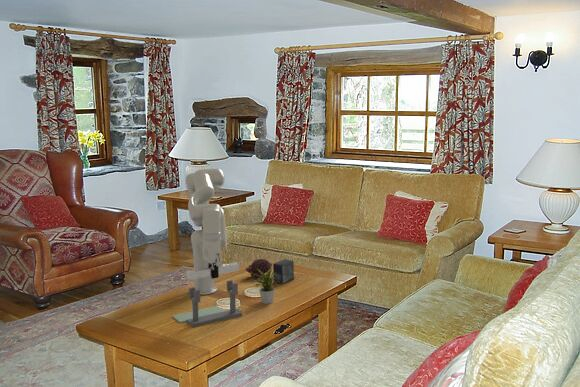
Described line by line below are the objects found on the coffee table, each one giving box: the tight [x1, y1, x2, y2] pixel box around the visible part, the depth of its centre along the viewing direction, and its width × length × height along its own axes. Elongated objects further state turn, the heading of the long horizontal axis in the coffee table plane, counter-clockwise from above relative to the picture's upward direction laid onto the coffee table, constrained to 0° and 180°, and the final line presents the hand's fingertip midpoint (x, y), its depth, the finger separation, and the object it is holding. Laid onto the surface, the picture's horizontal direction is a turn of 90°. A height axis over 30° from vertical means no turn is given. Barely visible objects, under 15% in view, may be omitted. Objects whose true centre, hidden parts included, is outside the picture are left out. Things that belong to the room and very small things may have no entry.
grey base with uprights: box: [186, 279, 243, 328], centre depth 266 cm, size 6×24×16 cm, turn 122°
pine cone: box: [245, 258, 273, 279], centre depth 327 cm, size 18×10×10 cm, turn 133°
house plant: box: [251, 267, 279, 305], centre depth 288 cm, size 14×14×16 cm
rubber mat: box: [171, 305, 240, 324], centre depth 275 cm, size 9×29×1 cm, turn 122°
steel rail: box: [185, 261, 240, 281], centre depth 264 cm, size 3×24×3 cm, turn 122°
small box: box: [272, 258, 295, 285], centre depth 319 cm, size 11×6×10 cm, turn 144°
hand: (213, 276), depth 264 cm, fingers closed on steel rail, 3 cm apart
